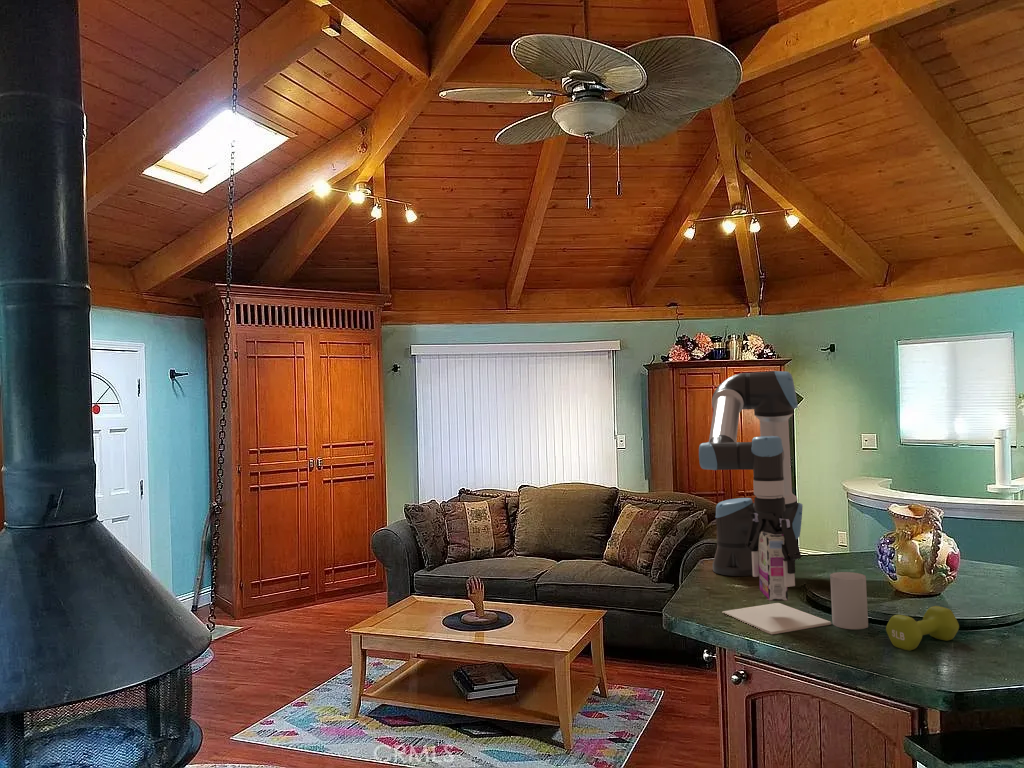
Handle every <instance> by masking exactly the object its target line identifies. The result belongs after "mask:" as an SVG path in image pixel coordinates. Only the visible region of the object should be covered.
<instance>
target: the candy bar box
mask: <svg viewBox="0 0 1024 768" xmlns="http://www.w3.org/2000/svg"><path fill="white" fill-rule="evenodd" d="M782 544H783V545H785V546H786V542H785V539H784V536H783V534H778V535H775V534H772V533H769V532H764V531H761V532H760V536H759V543H758V554H759V576H758V578H759V591H760V593H762V594H763V595H764V597H765V598H766V599H767V600H768V601H769V602H785V601H786V602H787V601H789V595H788V594H789V593H788V587H784V573H783V560H784V559H785V557H784V555H783V553H782Z"/></svg>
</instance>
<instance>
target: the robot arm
mask: <svg viewBox="0 0 1024 768" xmlns="http://www.w3.org/2000/svg"><path fill="white" fill-rule="evenodd" d="M797 398H798V397H797V393H796V387H795V383H794V379H793V375H792V373H791V372H789V371H786V370H785V371H780V370H779V371H777V370H775V371H774V370H771V371H770V370H769V371H758V372H757V371H755V372H740V373H736V374H733V375H731V376H729V377H727V378H726V379H724V380H722V382H721V383H720V384H719V385H718V386H717V387H716V388H715V390H714V392H713V394H712V398H711V407H712V409H713V410H712V411H713V412H712V419H711V426H710V433H709V438H708V441H707V442H702V443H700V444H699V447H698V460H699V467H700V468H701V469H702V470H707V471H709V470H710V471H711V470H712V471H723V470H724V471H726V470H727V471H730V470H731V471H734V470H735V471H737V470H739V471H741V470H742V471H744V470H747V471H748V470H751V471H753V473H752V474H753V477H752V479H753V483H752V485H753V495H754V496H755V497H754V498H753V499H754V500H753V499H752V498H751V497H738V498H730V499H726V500H722V501H719V502H718V503H717V504H716V506H715V516H714V517H715V523H716V526H715V527H716V545H717V546H716V547H717V548H716V551H715V554H714V558H713V561H712V571H713V572H714V573H715V574H719V575H723V576H730V577H748V576H752V577H754V578H757V577H759V554H758V543H759V536H760V532H761V531H764V532H769V533H772V534H775V535H778V534H783V536H784V539H785V542H786V546H785V545H783V544H782V553H783V555H784V557H785V559H784V560H783V573H784V587H787V588H788V587H789V588H790V587H795V586H796V579H795V575H796V560H798V559H799V560H800V559H802V554H801V550H800V547H799V544H798V541H797V540H799V538H800V537H801V529H802V519H803V507H804V506H803V504H802V503H801V502H798V497H797V496H796V495H795V494H794V493H793V487H792V485H793V484H792V483H793V482H792V467H791V466H792V465H791V464H792V463H791V446H790V445H791V444H790V427H789V420H790V418H791V417H792V416H793V415H794V409H795V410H796V409H798V408H799V405H798V400H797ZM743 410H748V411H749V410H753V415H754V417H756V418H757V419H758V420H759V431H760V432H759V433H760V434H759V436H754V437H753V438H752V439H751V441H742V442H740V441H739V442H738V441H737V439H738V431H739V430H738V429H739V421H740V419H739V418H740V413H741V412H742V411H743Z"/></svg>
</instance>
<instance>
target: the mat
mask: <svg viewBox="0 0 1024 768" xmlns="http://www.w3.org/2000/svg"><path fill="white" fill-rule="evenodd" d="M721 613H725V614H727V615H729V616H732V617H734V618H736V619H738V620H740V621H739V622H741V621H742V622H741V623H743V622H744V623H743V624H745V623H747V624H746V625H748V624H749V625H748V626H750V625H751V626H750V627H752V626H754V627H753V628H755V627H756V628H755V629H757V628H758V629H757V630H759V629H760V630H759V631H762V632H764V633H766V634H768V635H777V634H782V633H789V632H796V631H800V630H801V631H802V630H805V629H812V628H819V627H825V626H829V625H832V621H830V620H827V619H825V618H821V617H819V616H816V615H813V614H811V613H808V612H805V611H802V610H800V609H797V608H794V607H792V606H789V605H786V604H783V603H780V602H775V603H773V602H772V603H769V604H768V603H766V604H762V605H761V604H760V605H755V606H749V607H743V608H735V609H727V610H723V611H721ZM727 615H726V616H727ZM729 616H728V617H729ZM734 618H733V619H734ZM736 619H735V620H736ZM738 620H737V621H738Z"/></svg>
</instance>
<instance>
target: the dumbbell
mask: <svg viewBox="0 0 1024 768" xmlns="http://www.w3.org/2000/svg"><path fill="white" fill-rule="evenodd" d="M959 629H960V624H959V622H958V620H957V617H956V616H955V614H954V612H953V611H952V610H951V609H950V608H947V607H945V606H944V607H943V606H939V605H934V606H930V607H928V609H927V610H926V611H925V613H924V615H923V617H922V620H921V619H920V620H918V621H917V620H915V619H914V618H913V617H911V616H907V615H904V614H895V615H892V616H891V617H890V618H889V620H888V622H887V624H886V626H885V631H886V634H887V636H888V638H889V641H890V642H891V644H892V645H893V646H894V647H895V648H899V649H901V650H904V651H913V650H916V649H917V648H918V646H919V644H920V642H921V641H922V640H923V636H926V635H929V636H930V637H932V638H934V639H936V640H941V641H946V642H947V641H951V640H953V639H954V638H955V636H956V635H957V633H958V631H959Z"/></svg>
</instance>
